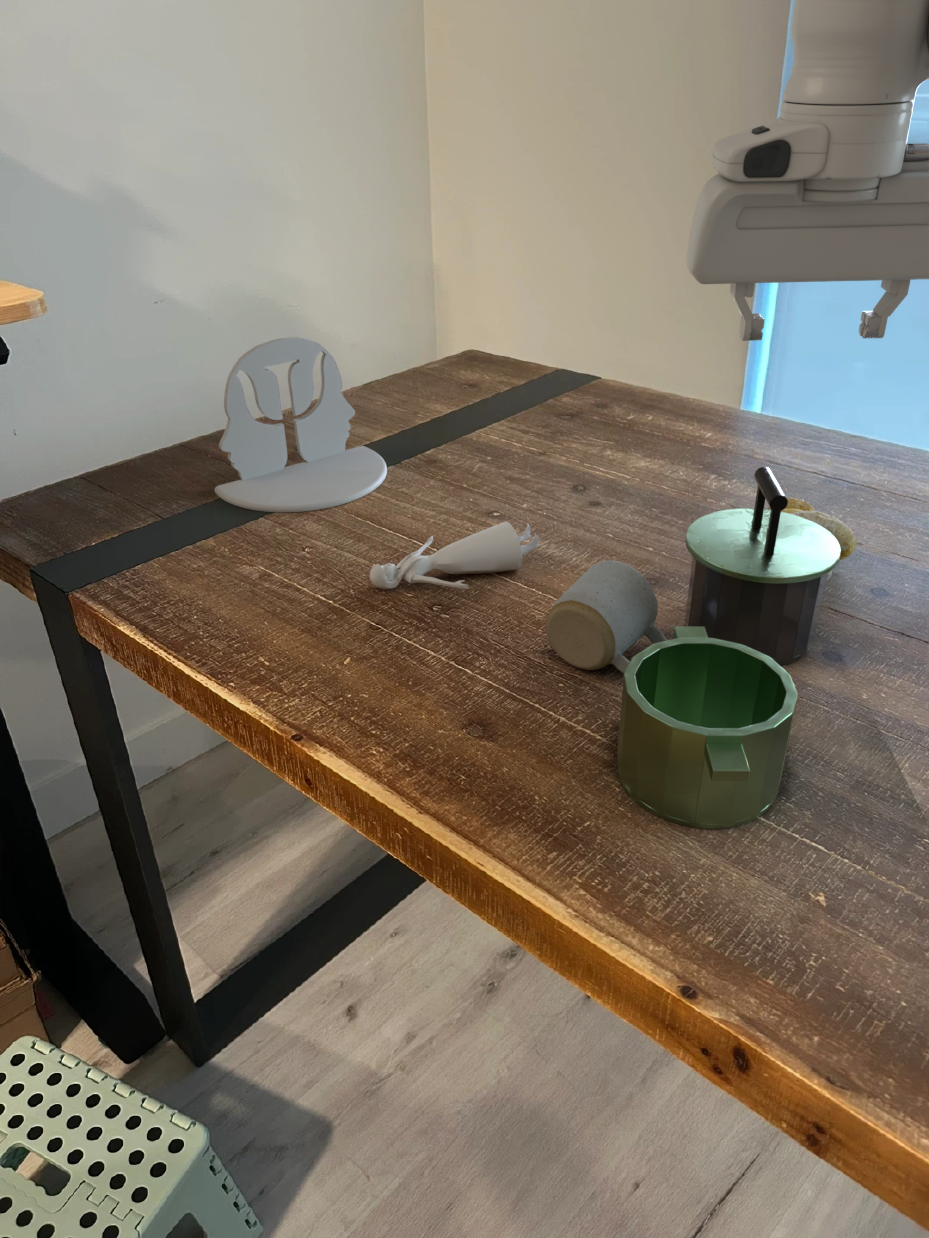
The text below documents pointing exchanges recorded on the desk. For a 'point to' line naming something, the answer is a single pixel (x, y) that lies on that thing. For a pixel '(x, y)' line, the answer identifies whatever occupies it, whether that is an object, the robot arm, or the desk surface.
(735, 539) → the pot lid
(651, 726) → the pot
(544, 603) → the desk surface
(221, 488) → the ornament
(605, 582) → the ceramic mug
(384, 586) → the woman figurine
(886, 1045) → the desk surface
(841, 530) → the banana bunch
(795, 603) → the black cup
